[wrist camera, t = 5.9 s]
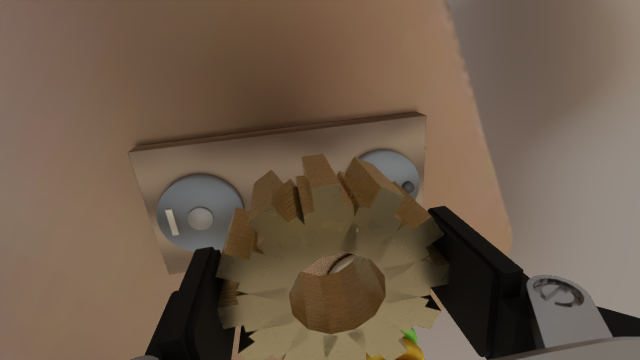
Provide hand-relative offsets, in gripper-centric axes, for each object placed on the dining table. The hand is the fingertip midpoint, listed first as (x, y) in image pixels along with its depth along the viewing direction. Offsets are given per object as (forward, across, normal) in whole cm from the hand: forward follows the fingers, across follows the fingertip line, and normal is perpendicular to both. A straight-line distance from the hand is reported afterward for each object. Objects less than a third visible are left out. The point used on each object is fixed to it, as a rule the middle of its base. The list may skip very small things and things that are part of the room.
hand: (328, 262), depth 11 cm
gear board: (+19, +1, +4) cm, 19 cm away
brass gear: (+1, 0, 0) cm, 1 cm away
